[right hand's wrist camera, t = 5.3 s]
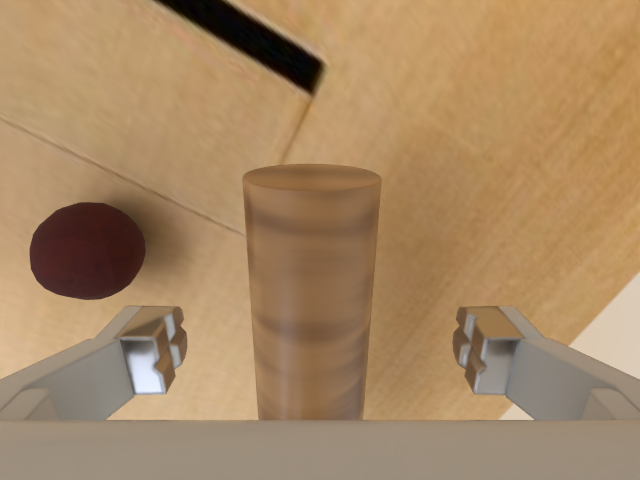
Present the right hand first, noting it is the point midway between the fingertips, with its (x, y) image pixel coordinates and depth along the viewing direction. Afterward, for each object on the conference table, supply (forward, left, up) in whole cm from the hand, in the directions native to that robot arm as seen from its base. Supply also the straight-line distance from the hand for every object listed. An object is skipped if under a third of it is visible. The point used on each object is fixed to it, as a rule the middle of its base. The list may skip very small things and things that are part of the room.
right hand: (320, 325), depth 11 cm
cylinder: (+10, 0, -10) cm, 14 cm away
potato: (+5, -18, -20) cm, 27 cm away
